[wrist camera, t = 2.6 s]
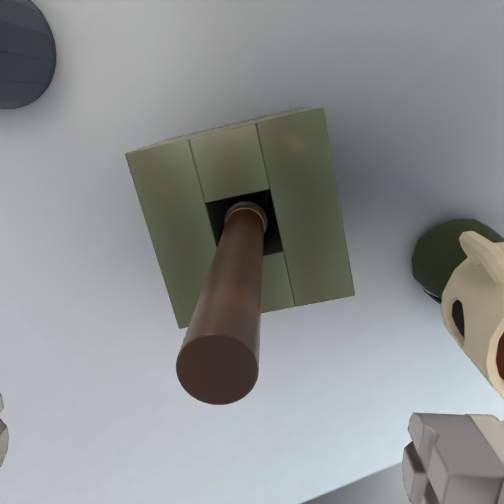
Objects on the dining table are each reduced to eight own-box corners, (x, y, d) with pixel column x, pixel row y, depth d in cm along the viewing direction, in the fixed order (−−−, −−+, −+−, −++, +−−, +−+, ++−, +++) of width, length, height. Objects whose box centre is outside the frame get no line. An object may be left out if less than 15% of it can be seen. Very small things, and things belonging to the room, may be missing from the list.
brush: (264, 174, 31) (254, 317, 10) (271, 207, 32) (275, 403, 11) (231, 181, 31) (154, 336, 10) (238, 214, 32) (182, 419, 11)
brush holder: (307, 106, 29) (323, 106, 21) (332, 245, 32) (355, 295, 24) (164, 140, 30) (124, 153, 22) (201, 272, 33) (179, 329, 25)
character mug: (370, 228, 32) (434, 306, 20) (458, 168, 30) (588, 211, 18) (447, 335, 34) (546, 464, 22) (532, 285, 33) (690, 393, 20)
